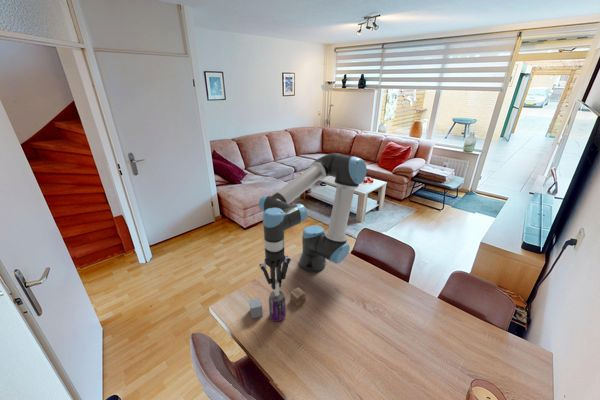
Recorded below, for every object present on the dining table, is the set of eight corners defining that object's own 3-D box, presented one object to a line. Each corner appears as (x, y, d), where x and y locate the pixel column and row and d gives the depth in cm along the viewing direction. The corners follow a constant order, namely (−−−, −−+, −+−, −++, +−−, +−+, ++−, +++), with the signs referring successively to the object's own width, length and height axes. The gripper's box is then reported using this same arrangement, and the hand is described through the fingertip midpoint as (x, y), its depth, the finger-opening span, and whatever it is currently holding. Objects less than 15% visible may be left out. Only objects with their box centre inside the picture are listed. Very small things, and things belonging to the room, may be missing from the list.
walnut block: (298, 295, 125) (298, 287, 123) (305, 300, 122) (305, 292, 120) (290, 300, 122) (290, 292, 120) (297, 306, 119) (297, 298, 117)
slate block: (261, 307, 118) (260, 297, 116) (262, 316, 114) (262, 306, 111) (250, 310, 117) (249, 300, 114) (251, 318, 113) (250, 308, 110)
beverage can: (285, 322, 110) (284, 302, 106) (268, 322, 111) (267, 301, 106) (286, 309, 117) (285, 289, 112) (270, 309, 117) (269, 289, 112)
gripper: (285, 238, 105) (286, 283, 114) (255, 246, 99) (259, 292, 109) (293, 247, 98) (294, 294, 108) (261, 256, 93) (265, 305, 103)
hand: (276, 293), depth 108 cm, fingers closed
